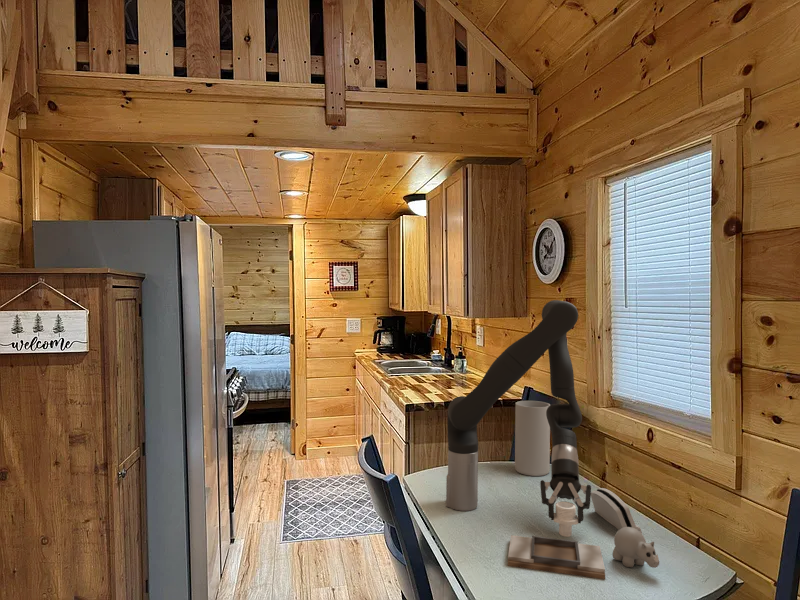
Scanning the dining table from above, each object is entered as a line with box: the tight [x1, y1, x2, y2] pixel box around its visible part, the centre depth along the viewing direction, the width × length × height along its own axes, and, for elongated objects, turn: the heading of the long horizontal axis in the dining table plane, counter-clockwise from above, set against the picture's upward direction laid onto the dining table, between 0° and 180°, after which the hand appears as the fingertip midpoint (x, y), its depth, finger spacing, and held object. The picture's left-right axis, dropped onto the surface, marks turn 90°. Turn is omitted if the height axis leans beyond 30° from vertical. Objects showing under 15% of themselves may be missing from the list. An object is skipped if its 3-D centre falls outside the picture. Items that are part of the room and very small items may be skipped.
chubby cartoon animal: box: [612, 527, 660, 569], centre depth 129 cm, size 7×12×8 cm, turn 20°
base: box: [507, 534, 606, 580], centre depth 133 cm, size 22×14×2 cm, turn 75°
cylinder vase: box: [514, 400, 551, 477], centre depth 199 cm, size 12×12×25 cm
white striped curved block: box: [590, 487, 643, 534], centre depth 154 cm, size 17×5×10 cm, turn 9°
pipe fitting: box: [553, 501, 579, 538], centre depth 146 cm, size 6×7×8 cm
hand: (565, 520), depth 145 cm, fingers closed on pipe fitting, 6 cm apart
